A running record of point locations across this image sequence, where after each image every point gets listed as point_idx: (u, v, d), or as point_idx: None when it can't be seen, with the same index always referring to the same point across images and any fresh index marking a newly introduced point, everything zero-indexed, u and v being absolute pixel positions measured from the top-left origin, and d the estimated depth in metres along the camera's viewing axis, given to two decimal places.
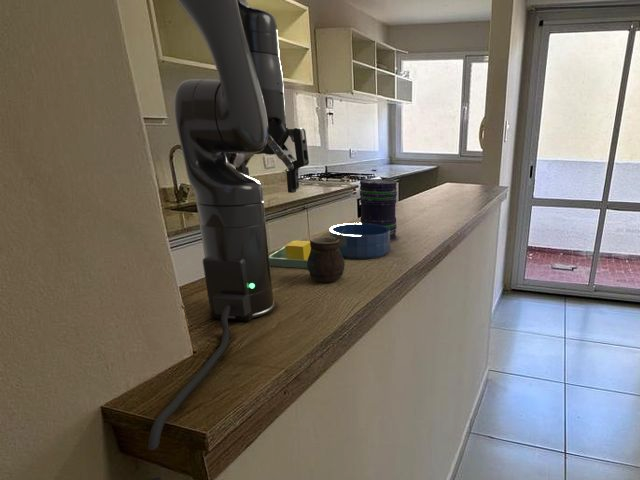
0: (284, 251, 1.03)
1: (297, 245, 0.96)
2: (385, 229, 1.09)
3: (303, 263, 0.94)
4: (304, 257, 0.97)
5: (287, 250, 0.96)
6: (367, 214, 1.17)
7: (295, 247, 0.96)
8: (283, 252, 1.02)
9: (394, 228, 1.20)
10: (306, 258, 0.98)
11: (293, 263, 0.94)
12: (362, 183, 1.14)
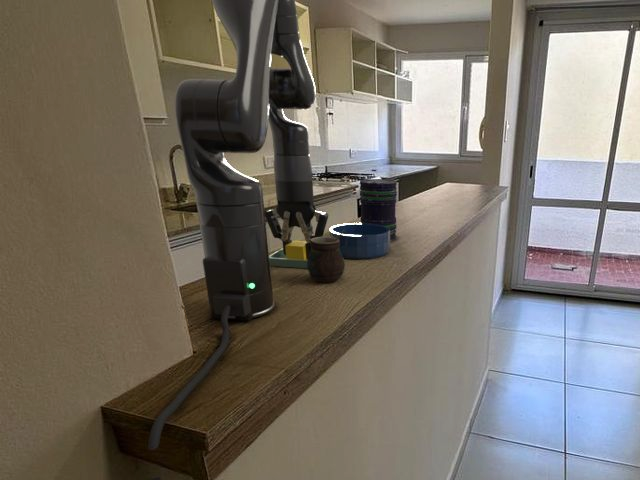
0: None
1: (297, 245, 0.96)
2: (385, 229, 1.09)
3: (303, 263, 0.94)
4: (304, 257, 0.97)
5: (287, 250, 0.96)
6: (367, 214, 1.17)
7: (295, 247, 0.96)
8: None
9: (394, 228, 1.20)
10: None
11: (293, 263, 0.94)
12: (362, 183, 1.14)
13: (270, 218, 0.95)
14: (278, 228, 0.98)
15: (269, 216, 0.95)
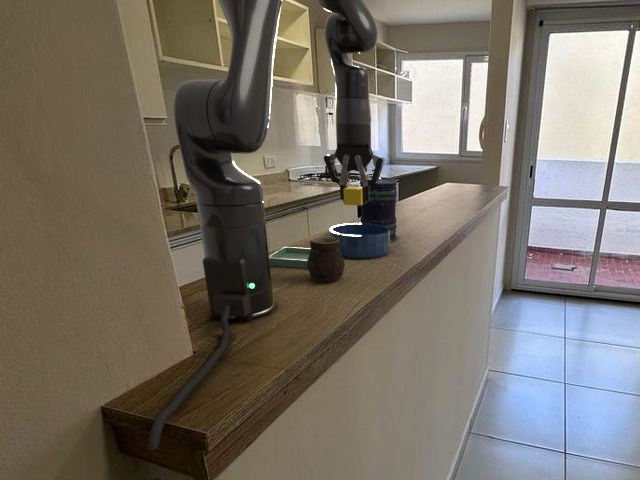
0: (284, 251, 1.03)
1: (355, 189, 1.00)
2: (385, 229, 1.09)
3: (303, 263, 0.94)
4: (361, 200, 1.01)
5: (345, 193, 1.00)
6: (367, 214, 1.17)
7: (353, 190, 1.00)
8: (283, 252, 1.02)
9: (394, 228, 1.20)
10: (362, 202, 1.02)
11: (293, 263, 0.94)
12: (362, 183, 1.14)
13: (329, 162, 0.99)
14: (335, 173, 1.02)
15: (328, 160, 0.99)
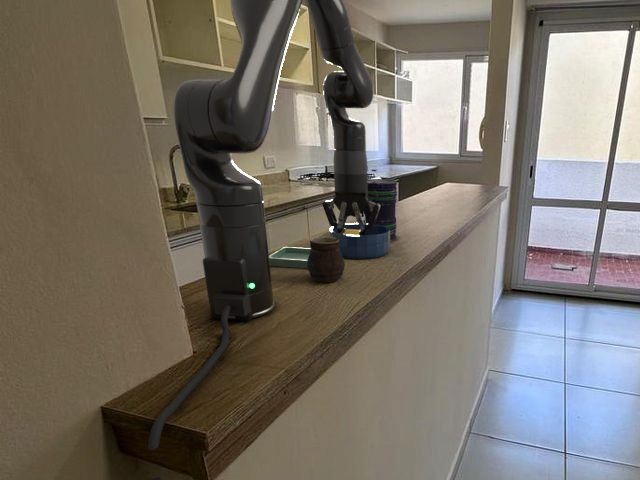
0: (284, 251, 1.03)
1: (352, 233, 1.05)
2: (385, 229, 1.09)
3: (303, 263, 0.94)
4: None
5: None
6: (367, 214, 1.17)
7: None
8: (283, 252, 1.02)
9: (394, 228, 1.20)
10: None
11: (293, 263, 0.94)
12: None
13: (327, 208, 1.04)
14: (333, 218, 1.06)
15: (327, 206, 1.04)
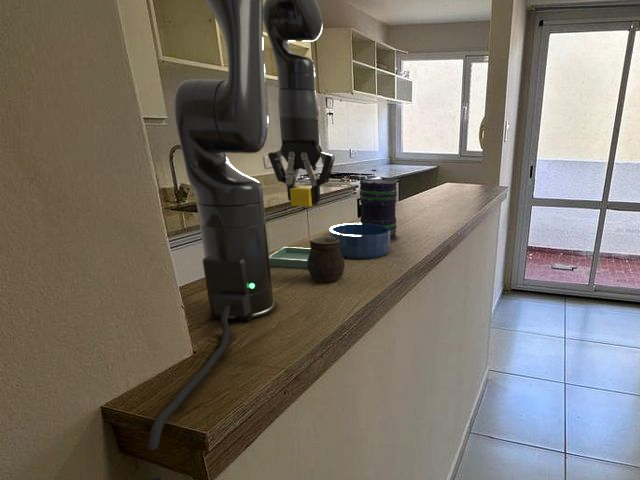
0: (284, 251, 1.03)
1: (302, 188, 0.92)
2: (385, 229, 1.09)
3: (303, 263, 0.94)
4: (309, 201, 0.93)
5: (292, 194, 0.92)
6: (367, 214, 1.17)
7: (300, 190, 0.92)
8: (283, 252, 1.02)
9: (394, 228, 1.20)
10: (311, 203, 0.94)
11: (293, 263, 0.94)
12: (362, 183, 1.14)
13: (274, 160, 0.92)
14: (282, 172, 0.94)
15: (273, 158, 0.91)
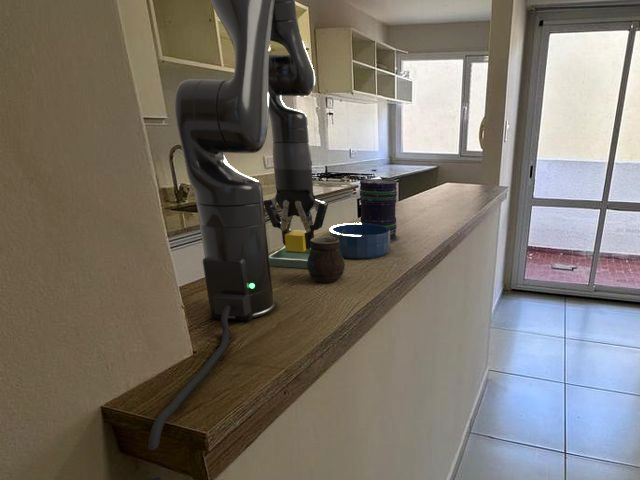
0: (284, 251, 1.03)
1: (297, 234, 0.95)
2: (385, 229, 1.09)
3: (303, 263, 0.94)
4: (304, 246, 0.96)
5: (287, 239, 0.95)
6: (367, 214, 1.17)
7: (295, 236, 0.95)
8: (283, 252, 1.02)
9: (394, 228, 1.20)
10: None
11: (293, 263, 0.94)
12: (362, 183, 1.14)
13: (269, 207, 0.94)
14: (277, 217, 0.97)
15: (268, 205, 0.94)
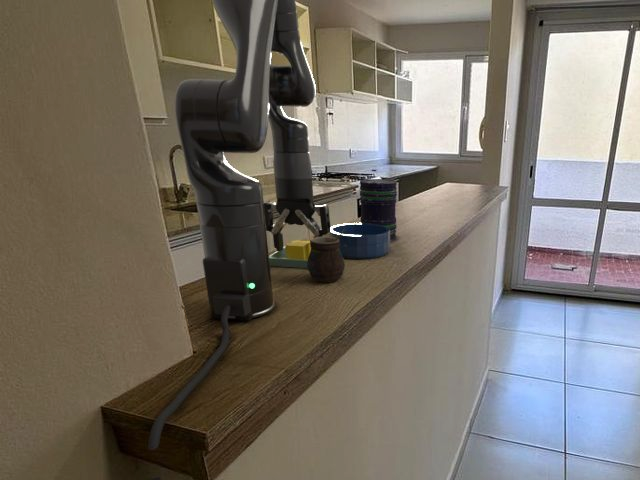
0: (284, 251, 1.03)
1: (297, 245, 0.96)
2: (385, 229, 1.09)
3: (303, 263, 0.94)
4: (304, 257, 0.97)
5: (287, 250, 0.96)
6: (367, 214, 1.17)
7: (295, 247, 0.96)
8: (283, 252, 1.02)
9: (394, 228, 1.20)
10: (306, 258, 0.98)
11: (293, 263, 0.94)
12: (362, 183, 1.14)
13: (267, 211, 0.95)
14: (270, 221, 0.97)
15: (266, 209, 0.94)
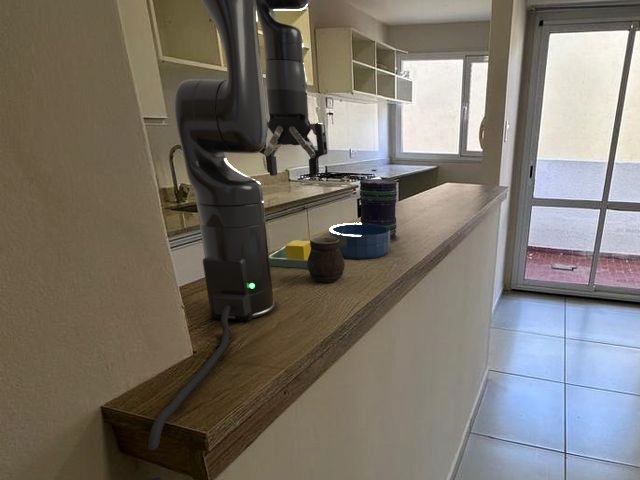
0: (284, 251, 1.03)
1: (297, 245, 0.96)
2: (385, 229, 1.09)
3: (303, 263, 0.94)
4: (304, 257, 0.97)
5: (287, 250, 0.96)
6: (367, 214, 1.17)
7: (295, 247, 0.96)
8: (283, 252, 1.02)
9: (394, 228, 1.20)
10: (306, 258, 0.98)
11: (293, 263, 0.94)
12: (362, 183, 1.14)
13: None
14: None
15: None
